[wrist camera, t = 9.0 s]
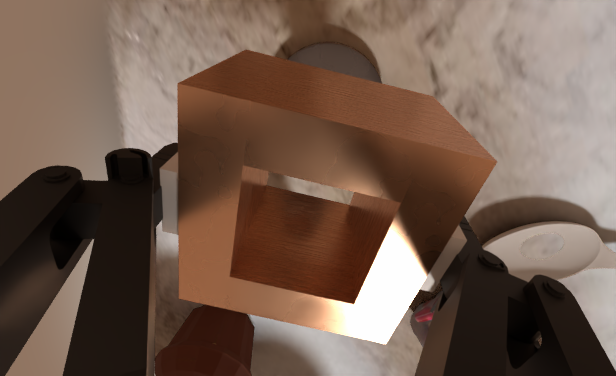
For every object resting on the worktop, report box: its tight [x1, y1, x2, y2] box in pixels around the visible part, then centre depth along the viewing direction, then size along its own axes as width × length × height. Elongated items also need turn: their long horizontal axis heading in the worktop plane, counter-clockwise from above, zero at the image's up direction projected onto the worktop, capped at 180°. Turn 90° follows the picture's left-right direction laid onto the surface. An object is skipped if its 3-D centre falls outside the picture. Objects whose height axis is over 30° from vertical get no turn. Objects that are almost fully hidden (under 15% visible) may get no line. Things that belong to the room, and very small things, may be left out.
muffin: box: [155, 304, 254, 376], centre depth 38 cm, size 12×11×10 cm
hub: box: [288, 42, 382, 83], centre depth 21 cm, size 9×9×10 cm
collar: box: [178, 50, 497, 344], centre depth 14 cm, size 9×9×7 cm
